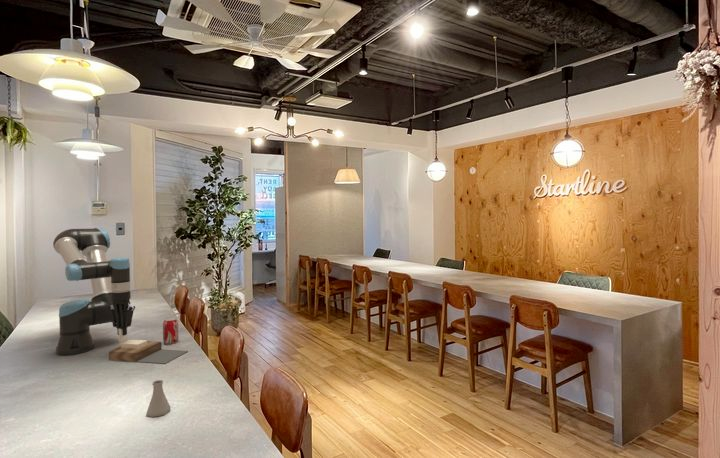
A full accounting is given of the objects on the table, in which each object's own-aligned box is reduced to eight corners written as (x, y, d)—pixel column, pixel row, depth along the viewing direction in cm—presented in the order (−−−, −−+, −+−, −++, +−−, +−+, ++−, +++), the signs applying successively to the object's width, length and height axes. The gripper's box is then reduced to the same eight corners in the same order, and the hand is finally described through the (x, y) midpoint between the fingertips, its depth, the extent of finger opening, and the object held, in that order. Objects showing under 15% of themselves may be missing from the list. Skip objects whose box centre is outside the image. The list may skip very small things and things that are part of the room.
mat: (136, 362, 175) (136, 361, 175) (161, 350, 190) (161, 349, 190) (165, 364, 172) (165, 363, 172) (187, 351, 188) (187, 350, 188)
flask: (151, 407, 133) (151, 377, 133) (174, 406, 134) (173, 376, 134) (141, 418, 126) (141, 387, 126) (165, 417, 127) (164, 386, 126)
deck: (109, 360, 177) (108, 351, 177) (135, 348, 193) (135, 340, 193) (136, 362, 175) (136, 353, 175) (161, 350, 190) (161, 341, 190)
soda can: (172, 345, 198) (172, 321, 197) (159, 344, 199) (159, 320, 199) (181, 340, 205) (181, 317, 204) (169, 340, 206) (168, 316, 206)
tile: (120, 347, 182) (120, 343, 182) (130, 343, 188) (130, 339, 188) (137, 348, 180) (137, 344, 180) (147, 344, 186) (147, 340, 186)
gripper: (102, 292, 182) (103, 344, 182) (126, 293, 179) (128, 345, 180) (115, 289, 189) (116, 339, 190) (139, 290, 187) (140, 340, 187)
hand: (122, 342), depth 185 cm, fingers closed
